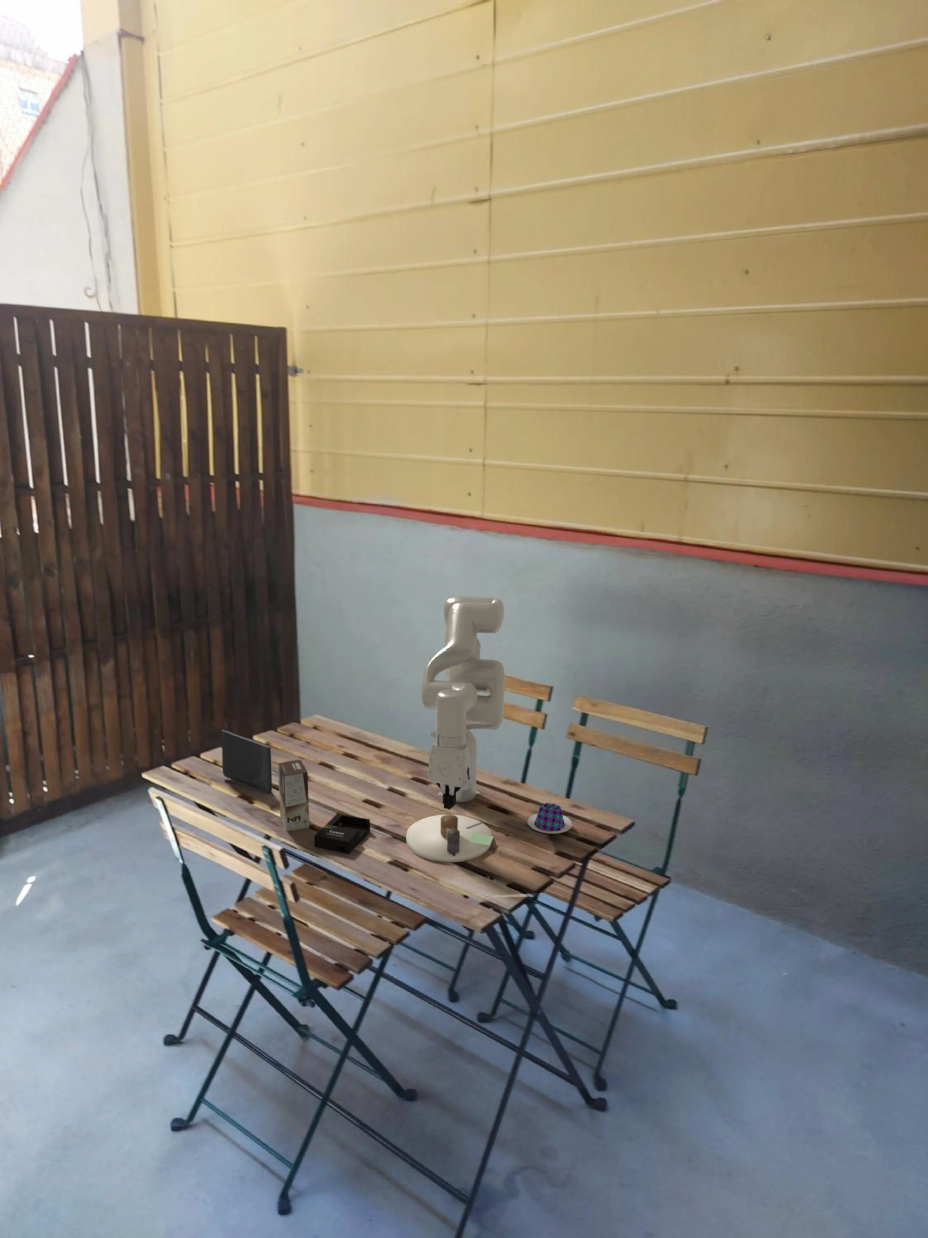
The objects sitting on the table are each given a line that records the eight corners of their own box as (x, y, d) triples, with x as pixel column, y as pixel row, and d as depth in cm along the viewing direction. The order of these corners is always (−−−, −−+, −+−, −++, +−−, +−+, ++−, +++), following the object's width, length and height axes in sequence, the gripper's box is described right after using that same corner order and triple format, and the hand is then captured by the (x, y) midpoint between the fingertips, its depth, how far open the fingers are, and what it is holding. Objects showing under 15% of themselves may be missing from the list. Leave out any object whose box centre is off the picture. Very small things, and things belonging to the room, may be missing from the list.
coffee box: (310, 828, 218) (308, 772, 214) (286, 833, 216) (283, 776, 212) (302, 813, 227) (300, 759, 223) (279, 817, 224) (276, 762, 220)
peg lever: (439, 829, 215) (439, 811, 214) (456, 828, 216) (456, 810, 215) (445, 854, 203) (445, 835, 202) (462, 853, 204) (463, 834, 202)
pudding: (578, 821, 226) (579, 803, 225) (562, 840, 216) (563, 821, 214) (537, 811, 231) (538, 793, 230) (520, 829, 221) (521, 811, 220)
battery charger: (348, 856, 206) (348, 842, 205) (314, 850, 209) (313, 835, 208) (370, 832, 218) (370, 819, 217) (337, 826, 220) (337, 813, 220)
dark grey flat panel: (275, 792, 239) (273, 743, 235) (270, 795, 237) (268, 745, 233) (227, 775, 249) (225, 728, 246) (222, 778, 248) (220, 730, 244)
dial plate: (403, 821, 223) (403, 816, 223) (485, 818, 226) (485, 812, 226) (409, 864, 202) (409, 858, 202) (499, 860, 205) (499, 854, 204)
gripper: (417, 738, 207) (416, 807, 211) (471, 749, 201) (469, 819, 205) (431, 729, 213) (430, 795, 217) (483, 739, 207) (482, 807, 211)
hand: (449, 807), depth 211 cm, fingers closed
